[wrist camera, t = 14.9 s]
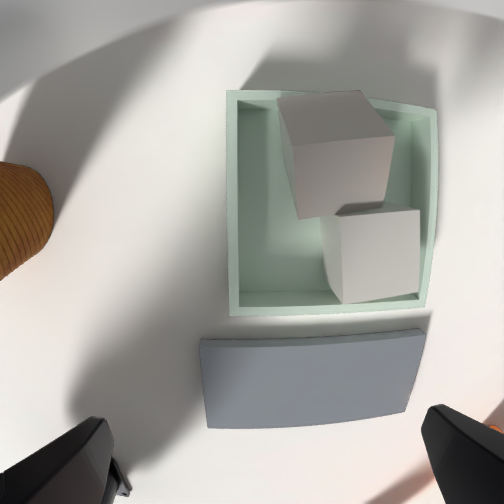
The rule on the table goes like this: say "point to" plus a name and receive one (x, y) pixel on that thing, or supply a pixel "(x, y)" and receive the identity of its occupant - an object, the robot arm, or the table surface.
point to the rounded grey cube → (371, 253)
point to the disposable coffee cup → (22, 215)
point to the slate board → (308, 379)
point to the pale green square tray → (308, 230)
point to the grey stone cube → (334, 152)
